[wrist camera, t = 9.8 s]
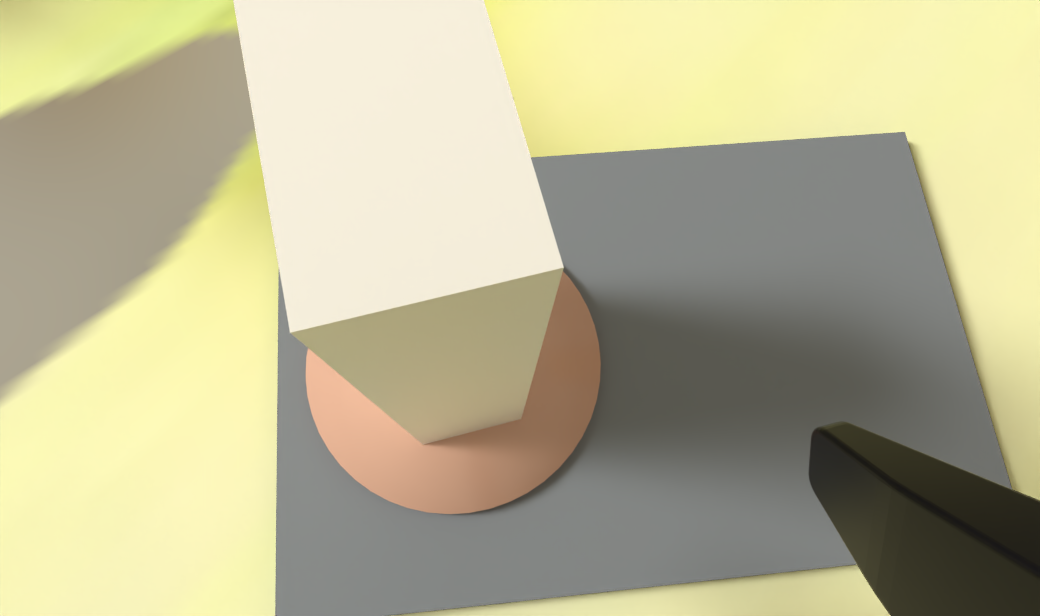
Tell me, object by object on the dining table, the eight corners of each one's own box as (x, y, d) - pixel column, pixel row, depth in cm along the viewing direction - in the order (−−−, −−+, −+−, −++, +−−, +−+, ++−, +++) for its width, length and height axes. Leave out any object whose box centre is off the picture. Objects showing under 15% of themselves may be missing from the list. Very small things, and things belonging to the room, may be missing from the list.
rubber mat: (895, 140, 24) (904, 132, 23) (1013, 544, 20) (1029, 545, 19) (285, 183, 23) (279, 175, 22) (282, 624, 19) (275, 628, 18)
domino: (522, 418, 20) (566, 267, 7) (421, 445, 19) (286, 333, 7) (486, 280, 21) (470, -51, 8) (391, 303, 21) (229, -9, 8)
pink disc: (504, 574, 19) (504, 576, 18) (249, 413, 20) (244, 411, 19) (648, 315, 21) (651, 312, 21) (413, 183, 22) (411, 178, 22)
